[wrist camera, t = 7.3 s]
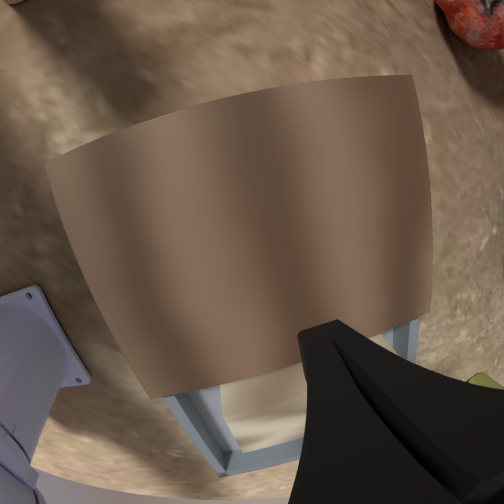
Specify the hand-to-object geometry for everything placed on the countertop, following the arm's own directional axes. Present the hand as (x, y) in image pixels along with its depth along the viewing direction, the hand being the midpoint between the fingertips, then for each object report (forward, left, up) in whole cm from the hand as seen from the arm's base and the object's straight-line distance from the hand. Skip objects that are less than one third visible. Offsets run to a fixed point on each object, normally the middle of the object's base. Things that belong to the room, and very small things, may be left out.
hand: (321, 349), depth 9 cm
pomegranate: (+18, +14, -9) cm, 25 cm away
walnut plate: (0, +1, -9) cm, 9 cm away
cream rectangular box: (0, -6, -6) cm, 8 cm away
